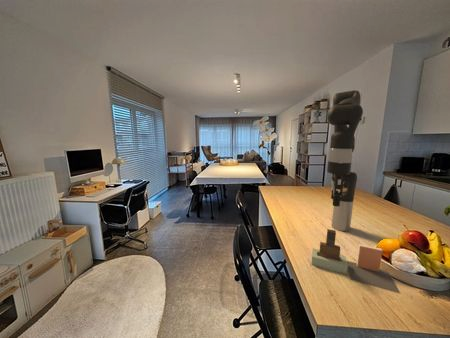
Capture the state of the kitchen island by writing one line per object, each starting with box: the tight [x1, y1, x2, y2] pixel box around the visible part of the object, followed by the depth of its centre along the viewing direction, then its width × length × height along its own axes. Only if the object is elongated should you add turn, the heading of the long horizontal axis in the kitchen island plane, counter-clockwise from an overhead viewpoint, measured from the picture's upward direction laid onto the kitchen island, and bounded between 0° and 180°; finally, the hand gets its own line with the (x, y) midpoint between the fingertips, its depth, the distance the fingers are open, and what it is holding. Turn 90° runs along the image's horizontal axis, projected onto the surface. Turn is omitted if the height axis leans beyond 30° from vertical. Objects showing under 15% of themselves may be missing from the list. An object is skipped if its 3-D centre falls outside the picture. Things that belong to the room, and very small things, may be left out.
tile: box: [356, 243, 383, 272], centre depth 74 cm, size 2×7×9 cm, turn 64°
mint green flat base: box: [310, 247, 348, 275], centre depth 77 cm, size 7×12×4 cm, turn 64°
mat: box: [347, 260, 401, 294], centre depth 71 cm, size 12×14×1 cm
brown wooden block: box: [319, 228, 341, 261], centre depth 76 cm, size 2×7×15 cm, turn 64°
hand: (335, 202), depth 73 cm, fingers open, 8 cm apart
